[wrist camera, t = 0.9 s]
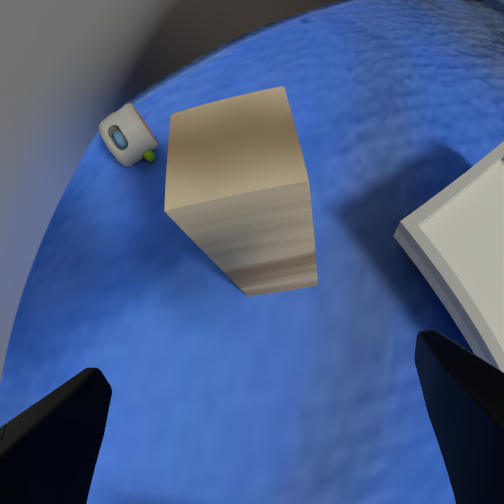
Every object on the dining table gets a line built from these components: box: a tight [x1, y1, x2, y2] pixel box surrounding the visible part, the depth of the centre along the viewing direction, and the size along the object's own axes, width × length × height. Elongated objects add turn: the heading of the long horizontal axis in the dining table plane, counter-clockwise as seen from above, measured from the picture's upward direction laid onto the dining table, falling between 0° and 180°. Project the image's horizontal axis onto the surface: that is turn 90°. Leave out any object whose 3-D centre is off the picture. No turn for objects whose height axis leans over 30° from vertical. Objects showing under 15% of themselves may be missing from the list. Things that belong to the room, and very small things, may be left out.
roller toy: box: [99, 103, 158, 167], centre depth 28 cm, size 4×6×6 cm
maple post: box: [164, 86, 318, 297], centre depth 17 cm, size 5×5×13 cm
